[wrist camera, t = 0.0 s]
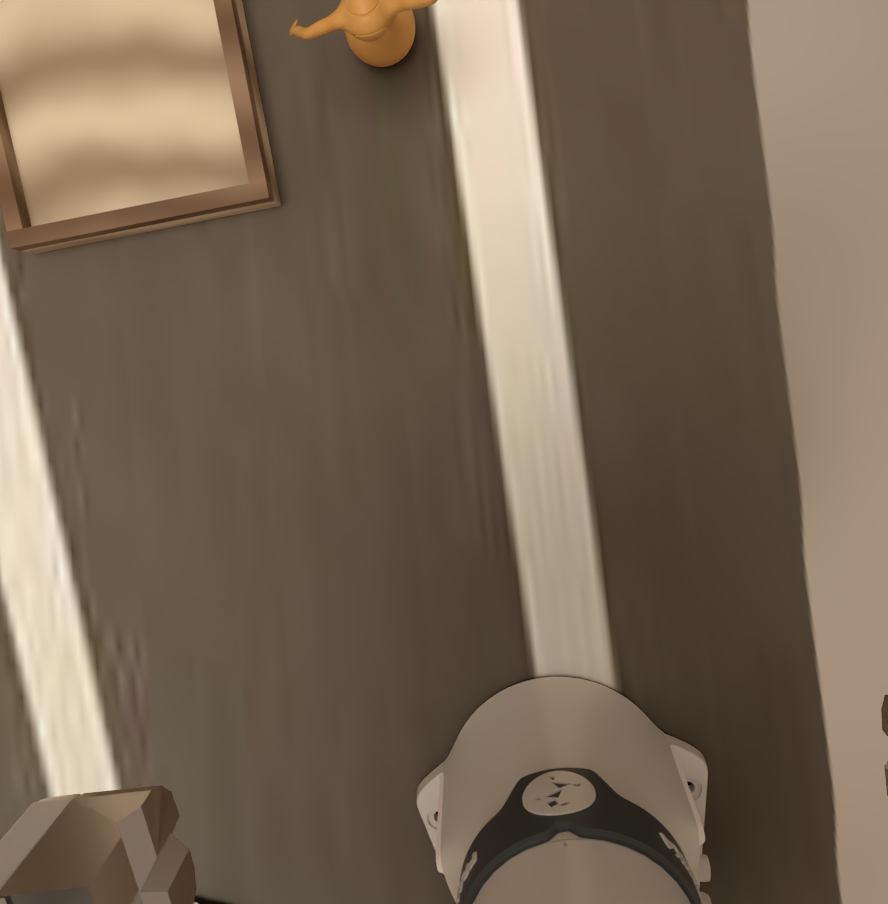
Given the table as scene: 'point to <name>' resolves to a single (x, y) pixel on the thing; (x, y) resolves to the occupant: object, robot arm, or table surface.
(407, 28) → the figurine
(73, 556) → the table surface
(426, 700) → the table surface
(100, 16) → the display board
